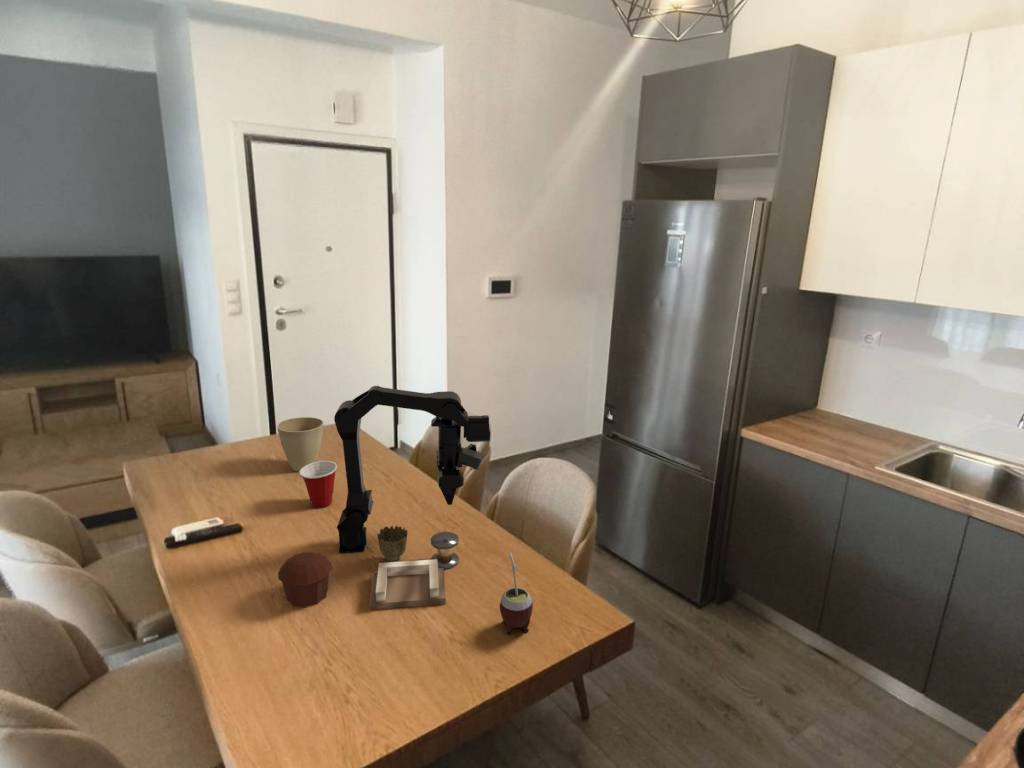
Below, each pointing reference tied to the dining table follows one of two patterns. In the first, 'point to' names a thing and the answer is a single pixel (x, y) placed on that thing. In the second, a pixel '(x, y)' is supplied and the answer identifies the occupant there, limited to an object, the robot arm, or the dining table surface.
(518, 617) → the mate gourd
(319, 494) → the plastic cup
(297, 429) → the plant pot
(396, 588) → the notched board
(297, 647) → the dining table surface
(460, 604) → the dining table surface
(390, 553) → the cup
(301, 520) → the dining table surface
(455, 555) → the bobbin
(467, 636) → the dining table surface
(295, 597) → the muffin
